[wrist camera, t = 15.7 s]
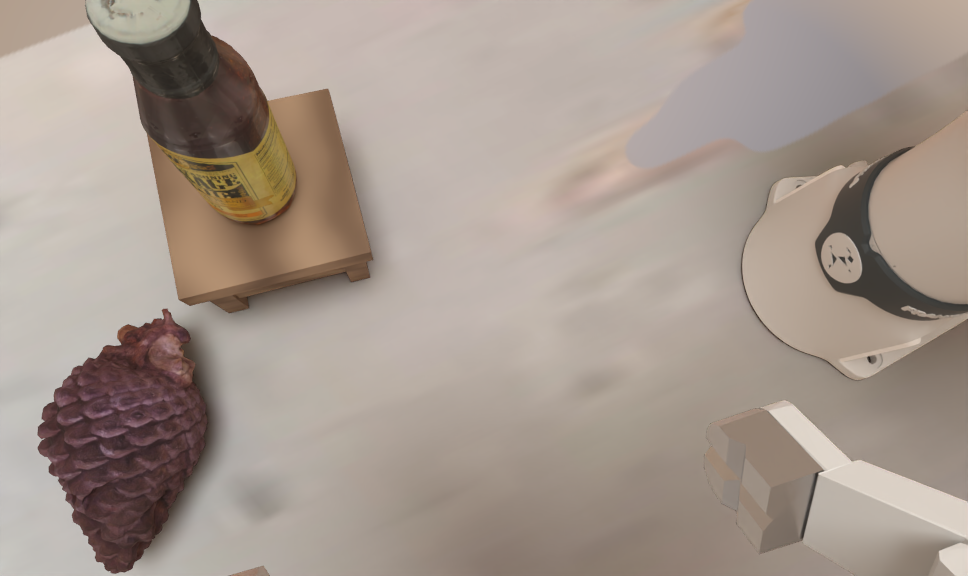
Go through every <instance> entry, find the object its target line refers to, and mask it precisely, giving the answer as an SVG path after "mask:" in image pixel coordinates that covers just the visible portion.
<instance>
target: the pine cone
mask: <svg viewBox="0 0 968 576" xmlns="http://www.w3.org/2000/svg"><path fill="white" fill-rule="evenodd" d="M162 312H163V315H164V319H163V320H162V319H154V320H153V322H152V323H151V324H149V323H145V324H144V325H143V326H141V327H139V328H138V327H135V326H131V325H129V324H128V325H125V326H123V327H122V328H121V329H120V330H119V331H118V335H117V338H118V340H119V341H120V342H121V345H119V346H111V345H106V346H105V347H103V350H102V352H101V353H100V355H99V356H98V357H97V358H96V359H92V358H88V359H87V360H86V361H85V363H84V364H83V366H77V367H75V368H73V370H72V373H71V375H70V376H68V378H67V379H65V380H64V381H63V384H62V387H60V388H58V389H55V392H54V402H52V403H49V404H48V405H47V406H45V407H44V408H43V413H42V419H43V420H44V421H45V422H43V423H42V424H41V425H40V426H39V427H38V436H39V437H40V438H41V439H43V438H45V439H44V440H42V441H41V442H40V444H39V446H38V450H39V453H40V454H41V455H43V456H44V457H48V458H49V460H50V461H51V462H52V463H51V465H50V466H49V473H50V474H51V475H53V476H58V477H59V480H58V481H59V483H60V484H61V486H63V488H62V489H63V490H64V491H65V492H67V494H66V501H67V502H68V503H70V504H71V505H72V507H73V509H74V511H73V514H72V518H73V522H74V523H76V524H78V525H80V527H81V529H82V530H83V534H84V535H86V536H88V537H89V539H88V543H89V544H90V545H91V546H92V547H93V550H94V551H95V552H96V556H95V559H96V561H97V562H103V564H104V565H105V569H106V570H107V571H111V573H115V574H116V573H119V572H126V571H129V570H131V569H132V568H133V565H134V562H135V561H137V560H139V559H141V557H142V555H143V553H144V549H146V548H148V547H149V545H150V543H151V541H152V539H154V538H155V535H156V534H158V533H159V532H160V531H161V530H162V524H163V523H165V522H166V521H167V519H168V516H169V514H168V509H169V508H170V507H171V505H172V503H173V502H174V501H175V500H176V497H177V493H179V492H180V491H182V490H183V489H184V479H185V478H187V477H189V476H190V475H192V471H193V466H195V465H196V464H197V462H198V459H199V454H200V453H201V452H202V450H203V448H204V446H205V441H204V433H205V431H206V429H207V426H206V425H207V423H208V421H207V416H206V414H205V410H206V404H205V403H204V401H203V399H202V396H201V395H200V390H199V389H198V388H197V387H196V384H194V383H193V382H192V378H193V370H194V367H195V365H196V364H195V363H194V361H193V360H190V359H188V358H186V357H184V350H183V349H182V348H180V346H181V345H182V344H185V343H189V341H190V339H191V338H190V335H189V333H188V331H187V330H186V329H185V328H183V327H181V326H179V325H178V324H176V323H175V322H174V320H173V319H172V316H171V313H170V312H169V311H168V309H163V310H162Z"/></svg>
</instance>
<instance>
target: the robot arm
mask: <svg viewBox="0 0 968 576" xmlns="http://www.w3.org/2000/svg"><path fill="white" fill-rule="evenodd" d="M796 188H797V189H796ZM742 273H743V281H744V285H745V289H746V292H747V295H748V298H749V300H750V303H751V305H752V307H753V308H754V310H755V312H756V314H757V315H758V316H759V318H760V319H761V321H762V322H763V323H764V324H765V325H766V327H767V328H768V329H769V330H770V331H771V332H772V333H773V334H775V335H776V336H777V337H778V338H779V339H781V340H782V341H783V342H785V343H786V344H788V345H790V346H792V347H793V348H795V349H797V350H800V351H802V352H805V353H808V354H811V355H814V356H817V357H820V358H822V359H824V360H826V361H828V362H829V363H831V364H832V365H833V366H834V367H835V368H837V369H838V370H839V371H840V372H842V373H843V374H844V375H846V376H847V377H849V378H851V379H854V380H862V379H865V378H868V377H871V376H872V375H874V374H876V373H877V372H879V371H881V370H883V369H884V368H886V367H888V366H889V365H891V364H893V363H894V362H896V361H898V360H899V359H901V358H903V357H904V356H906V355H908V354H910V353H911V352H913V351H915V350H916V349H918V348H920V347H921V346H923V345H925V344H926V343H928V342H930V341H931V340H933V339H935V338H937V337H938V336H940V335H942V334H943V333H945V332H947V331H948V330H950V329H952V328H953V327H955V326H957V325H959V324H960V323H962V322H964V321H965V320H967V319H968V110H967V111H966V112H964V113H963V114H962V115H960V116H959V117H958V118H956V119H955V120H954V121H952V122H951V123H950V124H948V125H947V126H945V127H944V128H943V129H941V130H940V131H938V132H937V133H935V134H934V135H932V136H931V137H929V138H928V139H926V140H925V141H923V142H922V143H920V144H919V145H917V146H914V147H908V148H904V149H901V150H899V151H897V152H894V153H892V154H890V155H888V156H886V157H885V156H884V157H882V158H880V159H878V160H877V161H875V162H873V163H871V164H870V165H868V164H867V162H866V161H858V162H855V163H852V164H850V165H849V166H848V167H847V168H845V167H844V166H843V165H839V166H836V167H834V168H832V169H830V170H828V171H826V172H824V173H823V174H821V175H819V176H808V177H788V178H783V179H781V180H779V181H777V182H776V183H774V184H773V186H772V188H771V190H770V193H769V197H768V202H767V208H766V211H765V213H764V214H763V216H762V217H761V219H760V220H759V221H758V222H757V224H756V225H755V226H754V228H753V229H752V231H751V233H750V235H749V237H748V239H747V242H746V245H745V248H744V253H743V260H742ZM867 356H869V357H870V359H871V363H869V362H868V360H867ZM706 439H707V440H708V442H709V443H710V444H711V445H712V446H711V447H710V448H709V450H708V451H707V452H706V454H705V455H704V469H705V473H706V476H707V480H708V483H709V484H710V486H711V488H712V490H713V492H714V494H715V495H716V497H717V498H718V499H719V501H720V502H721V504H723V505H725V506H727V507H729V508H731V509H733V510H735V511H737V515H736V524H737V525H738V527H739V528H740V529H741V531H742V532H743V534H744V535H745V536H746V538H747V539H748V540H749V542H750V543H751V544H752V546H753V547H754V548H755V550H756V551H757V552H758V554H762V553H765V552H768V551H771V550H774V549H777V548H780V547H784V546H787V545H790V544H793V543H796V542H799V541H802V540H803V541H802V543H803V544H804V545H806V546H808V547H809V548H811V549H813V550H814V551H816V552H818V553H819V554H821V555H823V556H824V557H826V558H828V559H829V560H831V561H833V562H834V563H836V564H838V565H839V566H841V567H843V568H844V569H846V570H848V571H849V572H851V573H853V574H854V575H856V576H968V502H967V501H964V500H962V499H959V498H957V497H954V496H952V495H949V494H947V493H944V492H941V491H939V490H936V489H934V488H931V487H929V486H926V485H924V484H921V483H918V482H916V481H913V480H911V479H908V478H906V477H903V476H900V475H898V474H895V473H893V472H890V471H888V470H885V469H883V468H880V467H877V466H875V465H872V464H870V463H867V462H865V461H862V460H856V461H853V462H852V461H851V460H850V459H849V458H848V457H847V456H846V455H845V454H844V453H843V452H842V451H841V450H840V449H839V448H838V447H836V446H835V445H834V444H833V443H832V442H831V441H830V440H829V439H828V438H827V437H826V436H825V435H824V434H823V433H822V432H821V431H820V430H819V429H818V428H817V427H816V426H815V425H814V424H813V423H812V422H810V421H809V420H808V419H807V418H806V417H805V416H804V415H803V414H802V413H801V412H800V411H799V410H798V409H797V408H796V407H795V406H794V405H793V404H792V403H790V402H788V401H785V400H783V401H779V402H776V403H773V404H770V405H767V406H764V407H760V408H755V409H752V410H749V411H746V412H743V413H740V414H737V415H734V416H731V417H728V418H725V419H722V420H719V421H716V422H713V423H710V425H709V426H708V428H707V432H706ZM229 576H270V575H269V573H268V572H267V570H266V569H265V567H264V566H260V567H257V568H253V569H250V570H247V571H243V572H240V573H236V574H233V575H229Z"/></svg>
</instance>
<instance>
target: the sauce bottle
mask: <svg viewBox="0 0 968 576" xmlns="http://www.w3.org/2000/svg"><path fill="white" fill-rule="evenodd" d="M85 6H86V12H87V17H88V19H89V21H90V23H91V24H92V25H93V27H94V29H95V30H96V32H97V34H98V35H99V37H100V38H101V40H102V41H103V42H104V43H105V44H106V45H107V47H108V48H109V49H111V50H112V51H114V52H115V53H116V54H118V55H120V56H121V58H122V59H123V60H124V61H125V63H126V64H127V66H128V67H129V69H130V71H131V73H132V75H133V81H134V86H135V92H136V97H137V103H138V109H139V114H140V120H141V123H142V126H143V128H144V129H145V131H146V132H147V134H148V135H149V136H150V137H151V139H152V140H153V141H154V142H155V143H156V144H157V145H158V147H159V148H160V149H161V150H162V151H163V152H164V153H165V155H166V156H167V157H168V158H169V160H170V161H171V162H172V163H173V164H174V165H175V167H176V168H177V169H178V170H179V171H180V172H181V173H182V174H183V175H184V177H185V178H186V179H187V180H188V181H189V182H190V183H191V184H192V186H193V187H194V188H195V189H196V190H197V191H198V192H199V193H200V195H201V196H202V197H203V198H204V199H205V200H206V201H207V202H208V204H209V205H210V206H211V207H212V208H213V209H214V210H216V211H217V212H218V213H220V214H222V215H223V216H224V217H226V218H227V219H230V220H232V221H236V222H240V223H245V224H262V223H265V222H268V221H270V220H272V219H274V218H275V217H276V216H278V215H280V214H281V213H283V212H284V211H285V210H286V209H287V208H288V207H289V206H290V204H291V202H292V199H293V197H294V194H295V189H296V181H297V177H296V171H295V167H294V164H293V161H292V159H291V157H290V154H289V152H288V149H287V147H286V144H285V142H284V140H283V137H282V135H281V133H280V130H279V128H278V126H277V123H276V121H275V118H274V116H273V113H272V111H271V109H270V106H269V104H268V101H267V99H266V97H265V95H264V93H263V91H262V89H261V88H260V87H259V85H258V82H257V80H256V78H255V76H254V73H253V72H252V70H251V68H250V67H249V65H248V64H247V62H246V61H245V60H244V59H243V57H242V56H241V55H240V54H239V53H238V52H237V51H235V50H234V49H233V48H232V46H230V45H228V44H227V43H225V42H224V41H222V40H220V39H218V38H217V37H214V36H211V35H210V33H209V32H208V31H207V30H206V28H205V26H204V24H203V22H202V20H201V12H200V7H199V3H198V1H197V0H85Z"/></svg>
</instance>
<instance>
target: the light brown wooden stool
mask: <svg viewBox="0 0 968 576" xmlns="http://www.w3.org/2000/svg"><path fill="white" fill-rule="evenodd" d="M268 104H269V106H270V109H271V111H272V113H273V116H274V118H275V121H276V123H277V126H278V128H279V130H280V133H281V135H282V137H283V140H284V142H285V144H286V147H287V149H288V152H289V154H290V157H291V159H292V161H293V164H294V167H295V171H296V177H297V181H296V189H295V194H294V197H293V199H292V202H291V204H290V206H289V207H288V208H287V209H286V210H285V211H284V212H283V213H281V214H280V215H278V216H276V217H275V218H274V219H272V220H270V221H268V222H265V223H262V224H245V223H240V222H236V221H232V220H230V219H227V218H226V217H224V216H223V215H222V214H220V213H218V212H217V211H216V210H214V209H213V208H212V207H211V206H210V205H209V204H208V202H207V201H206V200H205V199H204V198H203V197H202V196H201V195H200V193H199V192H198V191H197V190H196V189H195V188H194V187H193V186H192V184H191V183H190V182H189V181H188V180H187V179H186V178H185V177H184V175H183V174H182V173H181V172H180V171H179V170H178V169H177V168H176V167H175V165H174V164H173V163H172V162H171V161H170V160H169V158H168V157H167V156H166V155H165V153H164V152H163V151H162V150H161V149H160V148H159V147H158V145H157V144H156V143H155V142H154V141H153V140H152V139H151V137H150V136H149V135H148V134H147V136H148V142H149V147H150V152H151V157H152V163H153V168H154V173H155V178H156V184H157V189H158V194H159V199H160V205H161V210H162V215H163V220H164V225H165V231H166V236H167V241H168V246H169V252H170V257H171V262H172V267H173V273H174V278H175V283H176V288H177V294H178V299H179V300H180V301H182V302H184V303H186V304H187V305H189V306H191V305H195V304H199V303H203V302H207V301H211V302H212V303H214V304H215V305H217V306H218V307H220V308H222V309H223V310H225V311H226V312H228V313H232V312H236V311H240V310H244V309H248V308H249V305H248V300H247V296H251V295H255V294H259V293H263V292H267V291H271V290H275V289H279V288H283V287H287V286H291V285H295V284H299V283H303V282H307V281H311V280H315V279H318V278H322V277H326V276H330V275H334V274H338V273H342V272H347V274H348V276H349V278H350V281H351V282H354V281H358V280H362V279H366V278H370V275H369V271H368V267H367V263H366V262H367V261H371V260H373V257H372V253H371V249H370V245H369V241H368V237H367V234H366V230H365V226H364V222H363V218H362V214H361V211H360V207H359V203H358V199H357V195H356V192H355V188H354V184H353V180H352V176H351V172H350V169H349V165H348V161H347V157H346V153H345V149H344V146H343V142H342V138H341V134H340V130H339V127H338V123H337V119H336V115H335V111H334V107H333V104H332V100H331V96H330V93H329V89H324V90H319V91H314V92H309V93H304V94H299V95H295V96H290V97H285V98H280V99H275V100H270V101H268Z"/></svg>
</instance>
